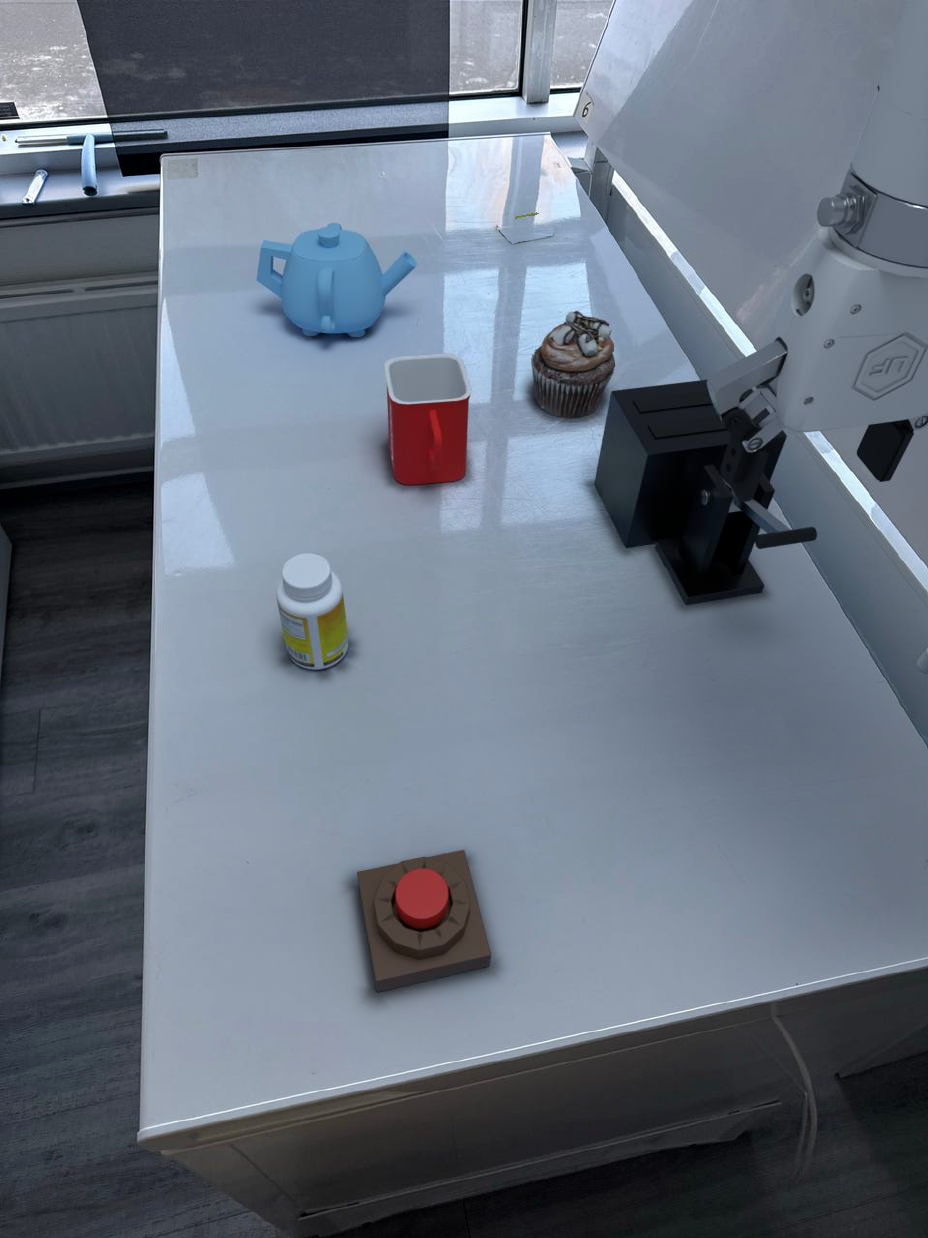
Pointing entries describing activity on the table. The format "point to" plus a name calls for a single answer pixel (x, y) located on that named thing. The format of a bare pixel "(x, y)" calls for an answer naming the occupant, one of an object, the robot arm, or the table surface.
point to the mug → (427, 417)
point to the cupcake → (573, 366)
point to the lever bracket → (715, 544)
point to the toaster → (662, 457)
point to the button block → (422, 951)
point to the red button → (421, 898)
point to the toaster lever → (770, 525)
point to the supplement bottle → (312, 612)
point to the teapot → (330, 280)
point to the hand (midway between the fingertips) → (804, 477)
